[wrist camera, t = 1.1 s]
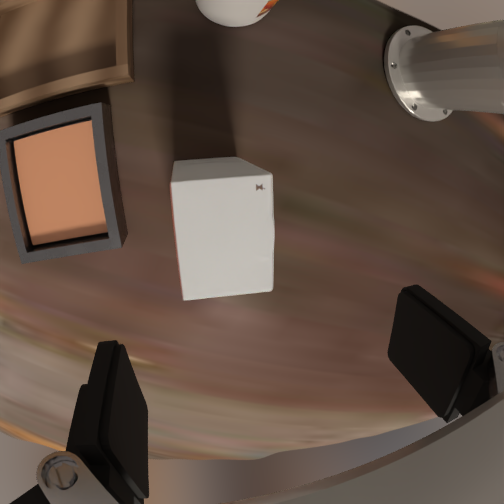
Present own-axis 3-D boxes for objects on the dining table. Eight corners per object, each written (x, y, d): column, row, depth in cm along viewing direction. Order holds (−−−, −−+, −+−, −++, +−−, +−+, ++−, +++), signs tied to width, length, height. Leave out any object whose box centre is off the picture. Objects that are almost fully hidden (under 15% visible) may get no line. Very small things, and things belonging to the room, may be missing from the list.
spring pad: (94, 120, 25) (91, 120, 24) (110, 228, 29) (108, 232, 28) (18, 140, 24) (13, 141, 23) (36, 241, 27) (32, 245, 27)
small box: (172, 160, 30) (168, 178, 18) (237, 155, 31) (275, 171, 19) (179, 240, 33) (182, 303, 21) (240, 234, 34) (276, 291, 22)
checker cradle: (110, 105, 26) (101, 102, 23) (127, 234, 31) (121, 247, 28) (14, 130, 25) (-4, 132, 21) (36, 249, 29) (21, 263, 26)
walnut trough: (133, -28, 21) (128, -46, 18) (134, 81, 26) (128, 74, 22) (-2, 13, 18) (-18, 4, 15) (-5, 119, 23) (-24, 119, 20)
